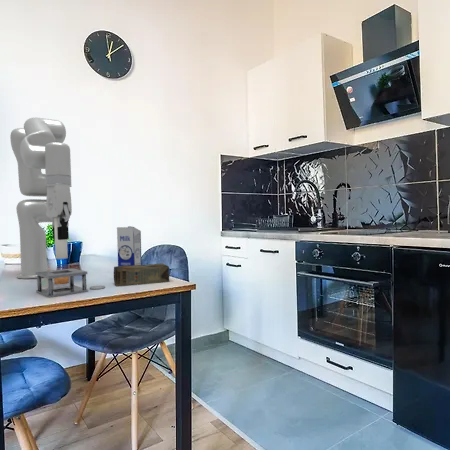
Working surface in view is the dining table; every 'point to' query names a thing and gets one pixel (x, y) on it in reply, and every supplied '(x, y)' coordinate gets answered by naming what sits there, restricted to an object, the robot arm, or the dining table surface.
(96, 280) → the dining table surface
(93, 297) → the dining table surface
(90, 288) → the mat
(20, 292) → the dining table surface
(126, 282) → the dark brown box
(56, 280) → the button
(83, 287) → the guard frame
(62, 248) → the white tall block
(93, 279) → the dining table surface
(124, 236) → the milk carton
